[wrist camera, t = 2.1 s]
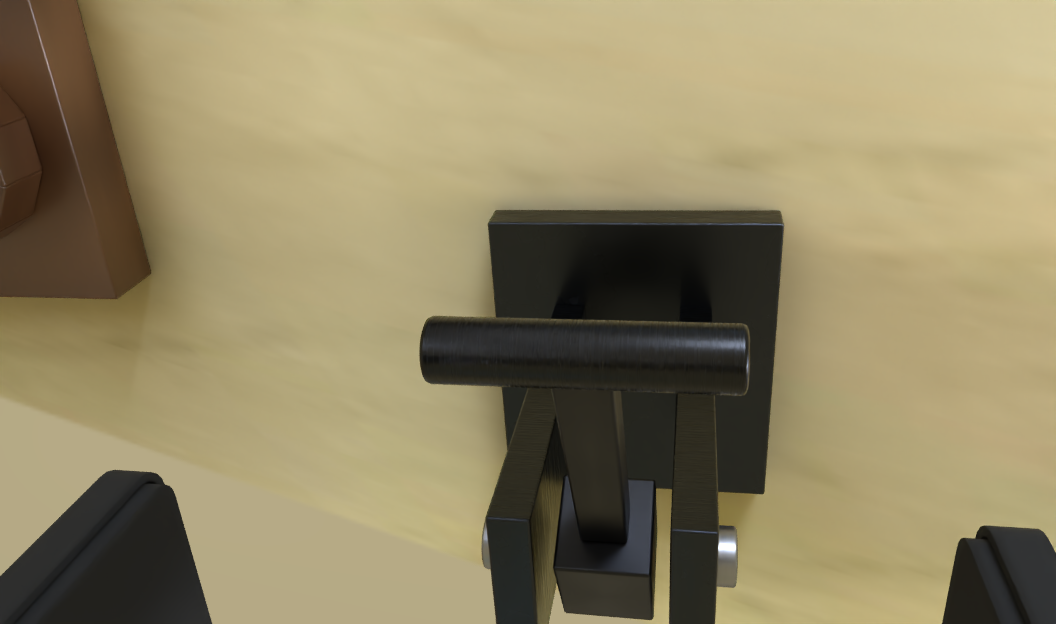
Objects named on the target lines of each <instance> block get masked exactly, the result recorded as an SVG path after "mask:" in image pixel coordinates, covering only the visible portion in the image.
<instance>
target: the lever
mask: <svg viewBox="0 0 1056 624" xmlns="http://www.w3.org/2000/svg"><path fill="white" fill-rule="evenodd" d="M420 366H421V371H422V375H423V377H424V379H425V381H426V382H428V383H430V384H446V385H472V386H498V387H524V388H550V389H551V390H552V396H553V401H554V406H555V411H556V416H557V422H558V427H559V432H560V437H561V442H562V448H563V453H564V458H565V463H566V469H567V474H568V475H565V476H564V477H563V484H562V493H561V501H560V510H559V518H558V527H557V536H556V544H555V553H554V561H553V570H554V574H555V577H556V581H557V585H558V589H559V592H560V596H561V600H562V604H563V608H564V611H565V612H566V613H574V614H585V615H597V616H609V617H620V618H632V619H644V620H652V619H653V617H654V594H655V570H656V547H657V510H656V483H655V481H654V480H651V479H633V478H628V472H627V460H626V448H625V435H624V423H623V411H622V398H621V391H628V392H654V393H679V394H705V395H731V396H742V395H745V394H746V392H747V390H748V385H749V373H750V335H749V329H748V327H747V325H745V324H743V323H703V322H662V321H620V320H579V319H538V318H496V317H455V316H432V317H430V318H428V319H427V320H426V322H425V324H424V327H423V330H422V334H421V339H420Z"/></svg>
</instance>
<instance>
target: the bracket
mask: <svg viewBox="0 0 1056 624" xmlns="http://www.w3.org/2000/svg"><path fill="white" fill-rule="evenodd" d="M488 230H489V242H490V253H491V265H492V277H493V288H494V300H495V312H496V318H538V319H579V320H620V321H662V322H703V323H743V324H745V325H747V327H748V329H749V335H750V373H749V385H748V390H747V392H746V394H745V395H742V396H731V395H705V394H679V393H654V392H628V391H621V398H622V411H623V423H624V435H625V448H626V460H627V472H628V478H633V479H651V480H654V481H655V483H656V488H663V489H672V508H671V534H670V601H669V624H715V612H716V591H717V587H730V588H734V587H735V586H736V583H737V565H738V543H737V529H736V527H734V526H722V525H719V514H718V492H732V493H749V494H764V491H765V477H766V463H767V450H768V436H769V423H770V409H771V395H772V382H773V368H774V355H775V341H776V327H777V314H778V300H779V287H780V273H781V259H782V246H783V232H784V223H783V219H782V215H781V212H780V211H589V210H497V211H495V212H494V214H493V216H492V217H491V219H490V221H489V223H488ZM502 393H503V405H504V416H505V428H506V440H507V454H506V457H505V460H504V463H503V466H502V469H501V472H500V475H499V478H498V481H497V484H496V488H495V491H494V494H493V497H492V500H491V503H490V506H489V509H488V512H487V515H486V518H485V523H484V528H483V535H482V560H483V564H484V567H485V568H487V569H491V577H492V586H493V595H494V606H495V615H496V624H549V619H550V614H551V609H552V604H553V599H554V594H555V589H556V584H557V581H556V577H555V574H554V570H553V561H554V553H555V544H556V536H557V527H558V518H559V510H560V501H561V493H562V484H563V477H564V476H565V475H568V474H567V469H566V463H565V458H564V453H563V448H562V442H561V437H560V432H559V427H558V422H557V416H556V411H555V406H554V401H553V396H552V390H551V389H550V388H524V387H502Z"/></svg>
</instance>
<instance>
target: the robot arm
mask: <svg viewBox="0 0 1056 624" xmlns="http://www.w3.org/2000/svg"><path fill="white" fill-rule="evenodd" d="M0 624H212V622H211V618H210V615H209V612H208V608H207V604H206V601H205V597H204V594H203V590H202V587H201V583H200V580H199V577H198V573H197V569H196V566H195V562H194V559H193V555H192V552H191V549H190V545H189V542H188V538H187V535H186V531H185V528H184V524H183V521H182V517H181V514H180V510H179V507H178V503H177V500H176V496H175V494H174V491H173V489H172V488H171V487H170V486H167V485H165V484H164V482H163V480H162V478H161V477H160V476H159V475H158V474H156V473H152V472H139V471H122V470H112V471H108V472H106V473H105V474H103V475H102V476H101V477H100V478H99V479H98V480H97V481H96V482H95V483H94V484H93V485H92V486H91V487H90V488H89V489H88V490H87V491H86V492H85V493H84V494H83V495H82V496H81V497H80V498H79V499H78V500H77V501H76V502H75V503H74V504H73V505H72V506H71V507H70V508H68V509H67V511H66V512H64V513H63V514H62V515H61V517H59V518H58V520H56V522H54V523H53V524H52V525H51V526H50V527H49V528H48V529H47V530H46V531H45V532H44V533H43V534H42V535H41V536H40V537H39V538H38V539H37V540H36V541H35V542H34V543H33V544H32V545H31V546H30V547H29V548H28V549H27V550H26V551H25V552H24V553H23V554H22V555H21V556H20V557H19V558H18V559H17V560H16V561H15V562H14V563H13V564H12V565H11V566H10V567H9V568H8V569H7V570H6V571H5V572H4V573H3V574H2V575H1V576H0ZM942 624H1056V553H1055V551H1054V549H1053V547H1052V545H1051V543H1050V541H1049V539H1048V538H1047V536H1046V535H1045V533H1044V532H1043V531H1041V530H1039V529H1030V528H1014V527H998V526H982V527H980V528H979V530H978V531H977V534H976V538H975V539H972V538H962V539H961V540H960V541H959V543H958V546H957V550H956V556H955V561H954V566H953V571H952V576H951V581H950V586H949V591H948V596H947V602H946V607H945V612H944V617H943V622H942Z"/></svg>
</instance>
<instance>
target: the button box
mask: <svg viewBox="0 0 1056 624" xmlns="http://www.w3.org/2000/svg"><path fill="white" fill-rule="evenodd" d="M150 274H151V270H150V267H149V263H148V259H147V256H146V252H145V248H144V245H143V241H142V238H141V234H140V230H139V227H138V223H137V219H136V216H135V212H134V208H133V205H132V201H131V197H130V194H129V190H128V187H127V183H126V179H125V176H124V172H123V168H122V165H121V161H120V157H119V154H118V150H117V146H116V143H115V139H114V136H113V132H112V128H111V125H110V121H109V117H108V114H107V110H106V106H105V103H104V99H103V95H102V92H101V88H100V85H99V81H98V77H97V74H96V70H95V66H94V63H93V59H92V55H91V52H90V48H89V44H88V41H87V37H86V33H85V30H84V26H83V23H82V19H81V15H80V12H79V8H78V4H77V1H76V0H0V297H45V298H90V299H118V298H119V297H120V296H122V295H123V294H124V293H126V292H127V291H128V290H130V289H131V288H133V287H134V286H135V285H137V284H138V283H139V282H141V281H142V280H143V279H145V278H146V277H147V276H149V275H150Z"/></svg>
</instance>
